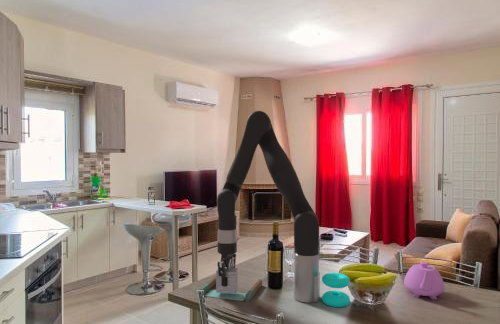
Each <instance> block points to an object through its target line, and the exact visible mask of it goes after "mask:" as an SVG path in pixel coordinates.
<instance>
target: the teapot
mask: <svg viewBox="0 0 500 324" xmlns="http://www.w3.org/2000/svg"><path fill="white" fill-rule="evenodd" d="M403 283H404V287H405V288H406V289H407V290H408V291H409V292H411V293H412V297H413V298H417V299H418V298H420V296H424V297H429V299H431V300H433V301H434V300H438V298H437V297H438V296H440V295H441V294H442V293H443V292H444V291H445V283H444V279H443V277H442V275H441V274H440V272H439V271H438V270H437V268H436V267H435V266H433V265H430V264H429V263H428V262H426V261H420V262H419V263H416V264H412V266H411V267H409V269H408V270H407V272H406V274H405V276H404V282H403Z"/></svg>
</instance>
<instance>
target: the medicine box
mask: <svg viewBox="0 0 500 324" xmlns="http://www.w3.org/2000/svg"><path fill="white" fill-rule="evenodd" d="M225 271H226V270H225ZM215 274H216V275H215V276H216V285H215V288H216V289H215V290H216V292H217V293H238V289H239V287H238V281H239V280H238V275H239V273H238V268H237V267H235V268H230V270H229V271H228V276H227V286H226V287H223V286H222V285H221V276H219V273H218V268H217V269H216V271H215Z"/></svg>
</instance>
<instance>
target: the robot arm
mask: <svg viewBox="0 0 500 324" xmlns="http://www.w3.org/2000/svg"><path fill="white" fill-rule="evenodd" d="M258 146H259V148H260V149H261V151H262V154H263V159H264V161H265V165H266V167H267V168H266V169H267V170H268V173H269V175H270V177H271V178H272V181H273V184H274V185H275V187H276V189H277V190H278V191H279V193H280V194H281V196H282V197H283V198H284V200H285V202H286V203H287V205H288V207H289V209H290V212H291V214H292V217H293V246H294V247H293V250H294V252H293V254H294V258H293V259H294V260H293V264H294V265H293V266H294V267H293V268H294V269H293V270H294V272H293V273H294V274H293V275H294V279H293V280H294V281H293V283H294V288H293V289H294V290H293V295H294V296H293V297H294V299H295V300H296V301H297V302H301V303H306V304H307V303H318V302H319V299H320V294H321V293H320V291H321V289H320V288H321V286H320V284H321V282H320V276H321V275H320V271H319V270H320V269H319V268H320V266H319V265H320V262H319V261H320V222H319V221H320V220H319V218H318V215H317V214H316V212H315V211H314V209H313V208H312V206H311V205H310V203H309V202H308V199H307V198H306V195H305V193H304V191H303V190H304V189H303V188H302V184H301V182H300V179H299V177H298V175H297V172H296V170H295V168H294V166H293V164H292V162H291V159H290V158H289V157H288V155H287V153H286V152H285V150H284V148H283V147H282V145H281V144H280V143H279V140H278V138H277V136H276V133H275V130H274V128H273V124H272V121H271V118H270V116H269V115H268V114H267V113H266V112H264V111H262V110H255V111H253V112H251V113H250V114H249V115H248V117H247V119H246V123H245V128H244V132H243V136H242V139H241V142H240V144H239V148H238V150H237V152H236V154H235V156H234V158H233V161H232V163H231V165H230V167H229V170H228V173H227V175H226V179H225V183H224V185H223V188H222V189H221V191H220V192H219V193H218V194H217V197H216V198H217V199H216V207H217V214H218V215H217V216H218V219H217V254H219V255H221V256H220V261H217V269H218V273H219V276H221V285H222V286H223V287H226V286H227V276H228V271H229V270H230V268H236V260H237V254H236V253H237V251H238V239H237V238H238V234H237V217H236V202H237V200H238V197H239V195H240V191H241V188H242V186H243V184H244V183H245V180H246V178H247V176H248V173H249V171H250V168H251V166H252V162H253V158H254V155H255V153H256V150H257V147H258ZM225 270H226V271H225Z"/></svg>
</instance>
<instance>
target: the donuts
mask: <svg viewBox="0 0 500 324" xmlns="http://www.w3.org/2000/svg"><path fill="white" fill-rule="evenodd" d="M321 280H322V283H323V284H324V285H325V286H327V287H329V288H332V290H328V291H325V292H324V293H323V294H322V297H321V299H322V302H323V303H324V304H325V305H326V306H328V307H329V306H330V307H332V308H333V307H334V308H344V307H347V306H349V304H350V302H351V300H350V299H351V298H350V296H349V295H348V294H347V293H345V292H343V291H341V290H333V289H343V288H346V287H348V286H349V285H350V283H351V279H350V277H349V276H348V275H346V274H344V273H339V272H327V273H325V274H323V276H322V278H321Z"/></svg>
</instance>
